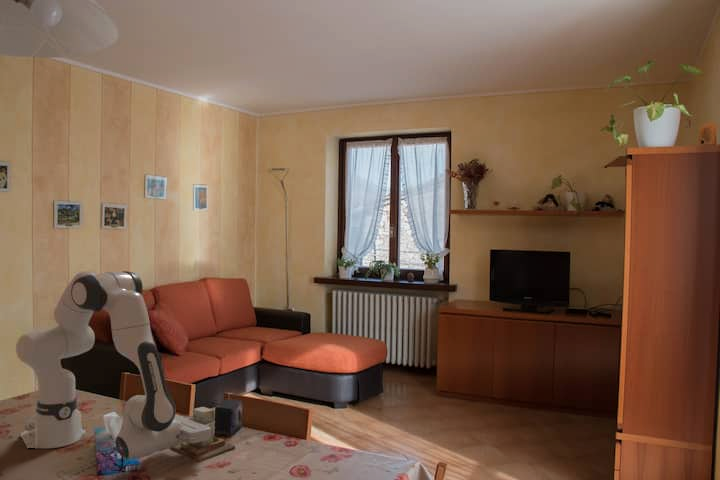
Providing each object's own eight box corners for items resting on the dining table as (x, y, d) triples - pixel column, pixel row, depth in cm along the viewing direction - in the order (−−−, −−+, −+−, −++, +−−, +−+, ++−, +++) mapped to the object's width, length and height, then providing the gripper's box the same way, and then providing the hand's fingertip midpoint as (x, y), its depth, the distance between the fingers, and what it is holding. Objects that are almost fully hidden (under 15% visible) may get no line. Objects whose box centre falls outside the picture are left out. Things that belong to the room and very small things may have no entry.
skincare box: (213, 446, 192) (215, 410, 192) (202, 450, 189) (204, 412, 189) (201, 441, 196) (203, 405, 196) (190, 445, 193) (192, 408, 193)
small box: (230, 438, 202) (231, 408, 202) (213, 436, 203) (213, 406, 203) (242, 427, 212) (243, 399, 212) (226, 425, 214) (226, 397, 213)
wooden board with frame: (164, 445, 195) (164, 438, 195) (199, 433, 206) (199, 427, 206) (199, 461, 182) (199, 454, 182) (235, 448, 193) (235, 441, 193)
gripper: (187, 431, 176) (225, 419, 186) (151, 416, 189) (188, 406, 199) (187, 451, 176) (225, 439, 186) (151, 435, 189) (188, 424, 199)
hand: (205, 421), depth 193 cm, fingers open, 6 cm apart
